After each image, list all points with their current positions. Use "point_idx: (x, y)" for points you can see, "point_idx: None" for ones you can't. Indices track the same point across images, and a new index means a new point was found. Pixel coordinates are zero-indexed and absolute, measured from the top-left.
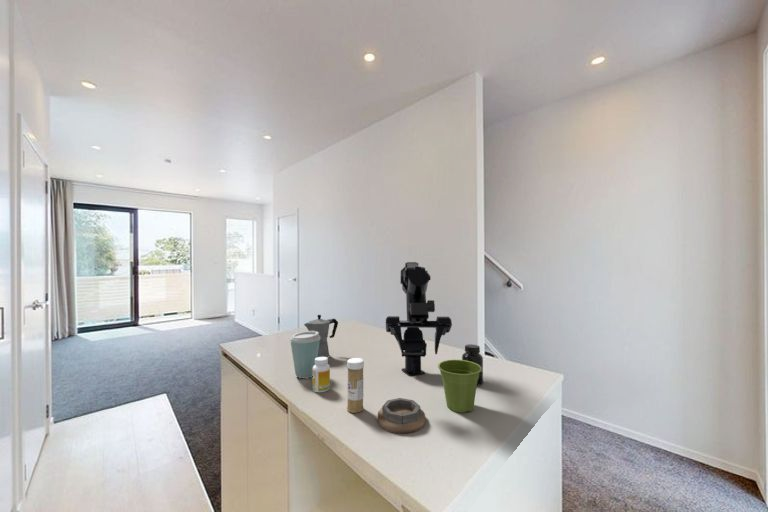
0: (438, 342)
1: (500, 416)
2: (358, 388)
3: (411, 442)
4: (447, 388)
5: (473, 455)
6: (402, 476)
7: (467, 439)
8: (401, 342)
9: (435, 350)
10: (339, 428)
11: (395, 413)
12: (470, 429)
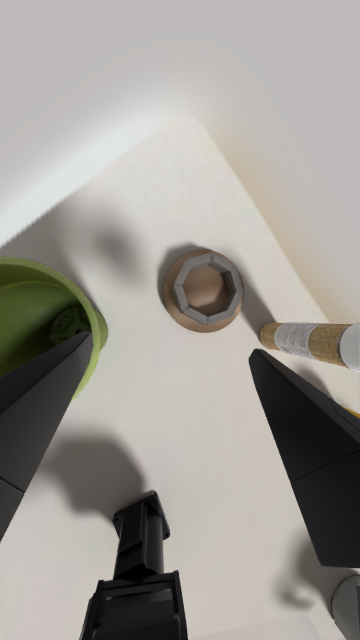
0: (23, 369)
1: None
2: (302, 324)
3: (196, 231)
4: (97, 316)
5: (114, 184)
6: (218, 166)
7: (108, 223)
8: (300, 385)
9: (85, 342)
10: (290, 281)
11: (223, 262)
12: (91, 250)
